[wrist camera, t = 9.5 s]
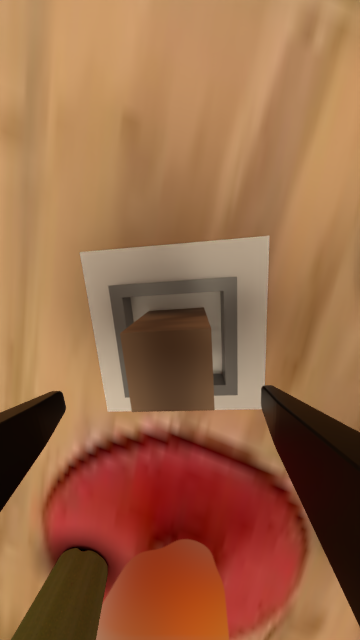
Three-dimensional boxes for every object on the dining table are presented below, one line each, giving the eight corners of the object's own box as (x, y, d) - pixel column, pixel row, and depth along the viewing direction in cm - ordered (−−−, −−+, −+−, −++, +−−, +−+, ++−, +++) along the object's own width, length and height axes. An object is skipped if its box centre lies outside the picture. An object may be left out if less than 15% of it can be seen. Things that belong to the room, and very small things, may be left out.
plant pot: (35, 570, 28) (-63, 754, 17) (60, 521, 26) (-38, 703, 15) (106, 601, 29) (54, 798, 18) (138, 556, 26) (99, 757, 15)
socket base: (264, 238, 16) (280, 229, 13) (260, 402, 20) (272, 424, 17) (85, 253, 17) (64, 248, 15) (111, 405, 21) (98, 426, 18)
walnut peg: (203, 307, 17) (211, 328, 10) (206, 359, 18) (214, 410, 11) (148, 311, 17) (120, 333, 10) (154, 361, 18) (131, 411, 12)
